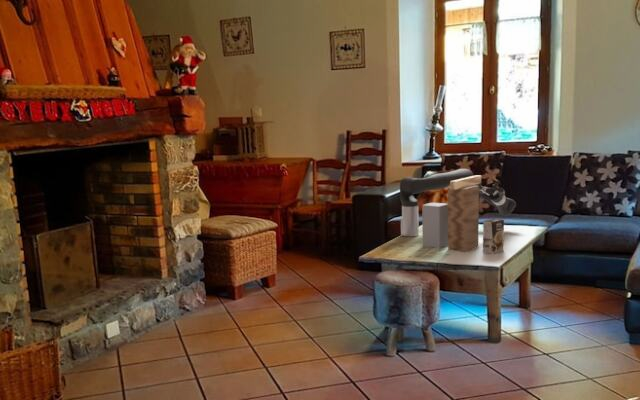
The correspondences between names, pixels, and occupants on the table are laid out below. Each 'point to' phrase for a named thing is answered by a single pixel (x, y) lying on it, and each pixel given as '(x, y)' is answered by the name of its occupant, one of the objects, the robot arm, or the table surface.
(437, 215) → the base pedestal
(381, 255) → the table surface
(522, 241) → the table surface
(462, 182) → the bar
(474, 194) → the tall pedestal
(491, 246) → the coffee box
